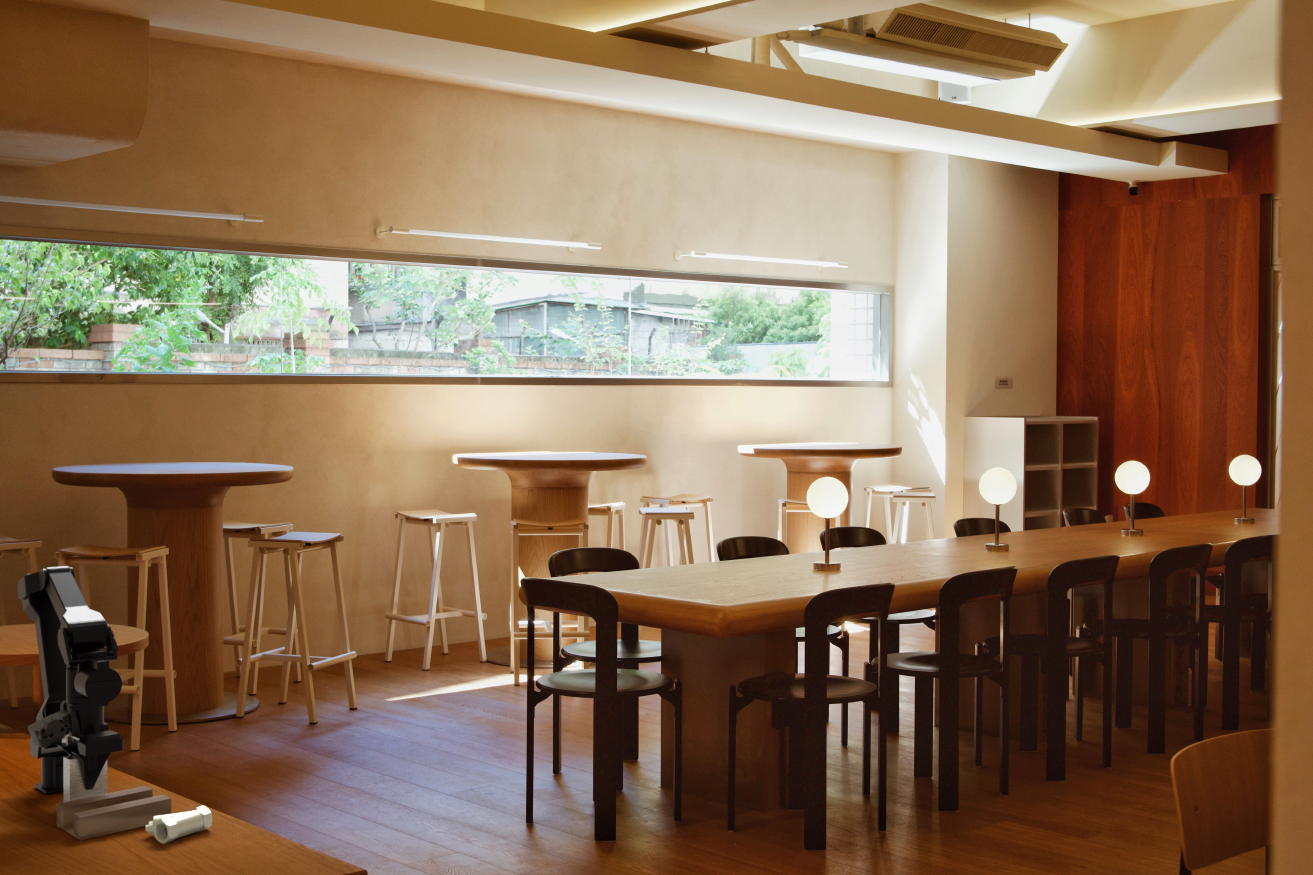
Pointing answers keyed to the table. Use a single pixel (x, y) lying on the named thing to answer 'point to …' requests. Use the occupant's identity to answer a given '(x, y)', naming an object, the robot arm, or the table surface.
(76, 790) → the brushed metal bar
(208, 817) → the pipe fitting
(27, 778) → the table surface
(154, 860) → the table surface
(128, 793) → the grey u-channel
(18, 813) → the table surface
